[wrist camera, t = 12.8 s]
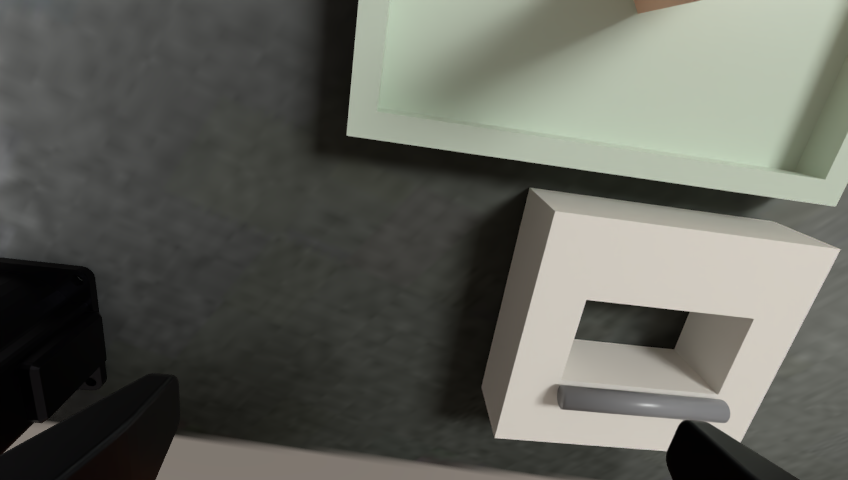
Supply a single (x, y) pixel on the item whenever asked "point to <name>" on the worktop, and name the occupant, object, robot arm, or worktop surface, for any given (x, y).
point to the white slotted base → (651, 287)
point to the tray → (616, 87)
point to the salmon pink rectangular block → (658, 4)
